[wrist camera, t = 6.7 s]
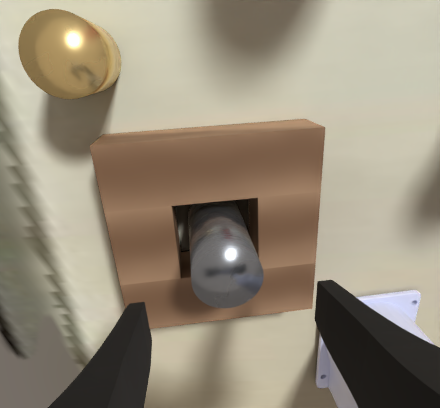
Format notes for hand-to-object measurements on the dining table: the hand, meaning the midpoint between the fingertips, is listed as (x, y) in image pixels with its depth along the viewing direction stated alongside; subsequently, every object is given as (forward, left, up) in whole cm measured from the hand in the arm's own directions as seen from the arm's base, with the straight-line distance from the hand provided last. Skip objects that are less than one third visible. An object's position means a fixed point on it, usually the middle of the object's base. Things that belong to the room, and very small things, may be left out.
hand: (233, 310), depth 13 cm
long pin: (0, 0, -9) cm, 9 cm away
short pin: (+10, +6, -9) cm, 15 cm away
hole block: (0, 0, -9) cm, 9 cm away
